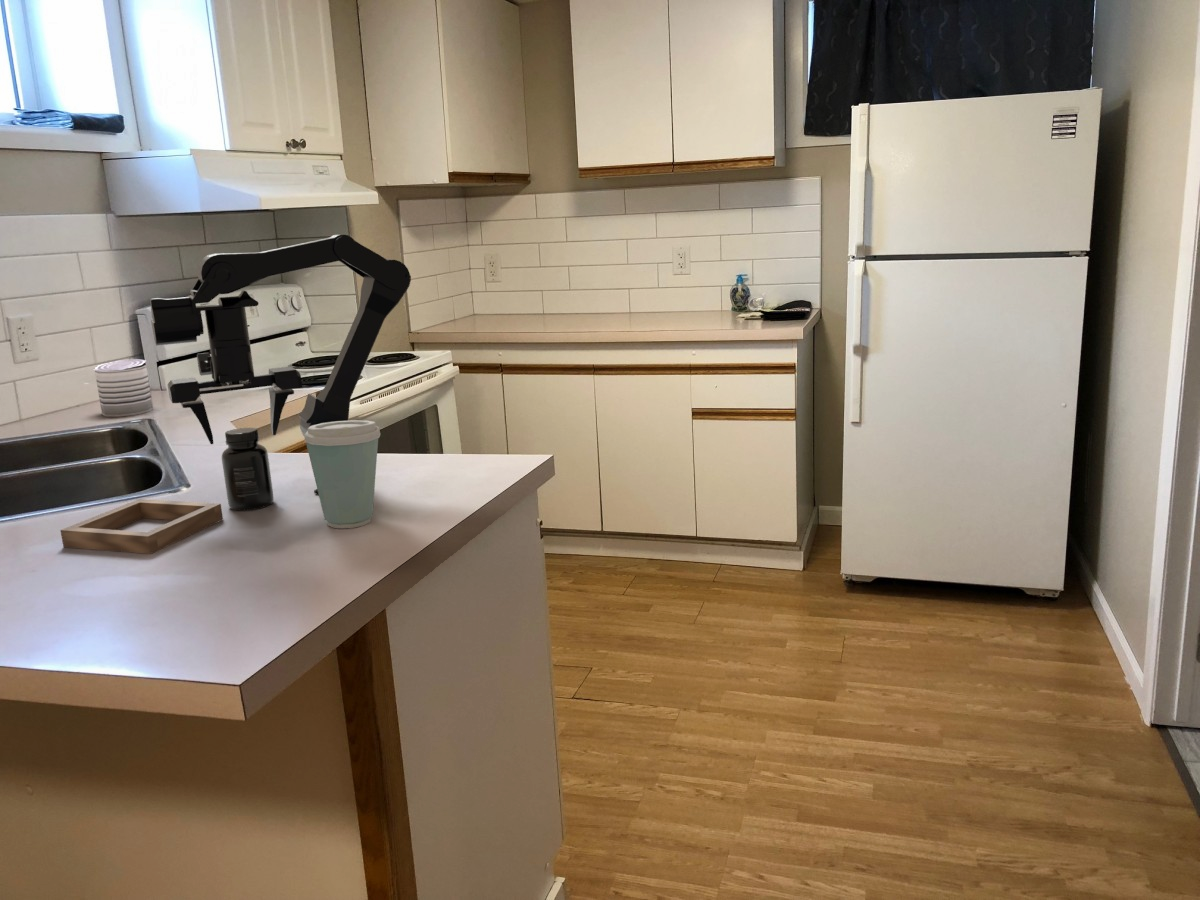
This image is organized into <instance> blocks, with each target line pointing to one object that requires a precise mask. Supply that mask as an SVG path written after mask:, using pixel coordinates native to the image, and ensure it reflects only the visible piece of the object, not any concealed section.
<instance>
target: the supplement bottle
mask: <svg viewBox="0 0 1200 900" xmlns="http://www.w3.org/2000/svg"><path fill="white" fill-rule="evenodd" d="M224 437H225V444H226V446H228V447H227V448H226V449H224V450H223V451H222V453H221V464H222V470H223V471H222V472H223V478H224V484H225V490H226V491H225V492H226V499H227V503H228V504H227V505H228V508H230V509H231V510H234V511H252V510H258V509H262V508H266V507H267V506H270V505H272V503H274V499H275V497H274V489H273V482H272V474H271V468H270V467H271V466H270V461H269V460H270V459H269V454H268V453H269V452H268V449H267V448H266V447H265V446H264V445H262V444H260V443H259V441H260V437H259V429H258V428H256V427H242V428H241V427H239V428H235V429H234V428H233V429H230V430H227V431H225V433H224Z"/></svg>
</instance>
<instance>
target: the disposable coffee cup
mask: <svg viewBox="0 0 1200 900" xmlns="http://www.w3.org/2000/svg"><path fill="white" fill-rule="evenodd" d="M380 437H381V431H380V427H379V426H377V424H376V422H375V421H373V420H366V419H365V420H357V419H356V420H355V419H351V420H349V419H348V421H335V422H327V423H320V424H316V425H312V426H310V427H309V428H308V431H307V432H306V434H305V437H304V440H303V442H305V443H306V444H305V445H306V448H307V453H308V456H309V460H310V461H309V462H310V465H311V468H312V473H313V477H314V481H315V485H316V489H317V490H318V497H319V501H320V506H321V510H322V514H323V519H324V520H325V521H326V524H327V526H329V527H331V528H335V529H352V528H353V529H354V528H357V527H362V526H363V527H364V526H365V525H367V524H370V523H371V520H372V517H373V513H374V497H375V487H376V475H377V474H376V473H377V462H378V460H377V459H378V458H377V457H378V447H379V446H378V445H379V438H380Z"/></svg>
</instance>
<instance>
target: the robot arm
mask: <svg viewBox="0 0 1200 900" xmlns="http://www.w3.org/2000/svg"><path fill="white" fill-rule="evenodd" d="M335 262H340V264H341V263H342V264H343V265H344V266H346V268H348V269H349V270H351V271H352V272H353V273H355V274H357V275H358V276H360V277H361V278H363V280H362V284H361V288H360V296H359V297H360V298H359V306H358V310H357V312H356V314H355V317H354V320H353V322H352V324H351V326H350V329H349V332H348V333H347V335H346V337H345V340H344V343H343V344H342V347H341V349H340V352H339V354H338V356H337V359H336V361H335V363H334V365H333V367H332V370H331V373H330V375H329V377H328V379H327V381H326V384H325V386H324V388H322V390H321V391H320V392H319V394H318V395H317V396H315V395H314V394H312V393H308V394H307V396H306V400H305V405H304V407H303V409H302V411H301V412H299V414H298V415H297V416H298V417H299V418H300V422H299V429H300V432H301V434H302V436H303V437H304V438H305V434H306V432H307V431H308V428H309V427H310V426H312V425H316V424H320V423H327V422H335V421H349V415H350V405H351V398H352V396H353V393H354V390H355V389H356V386H357V384H358V382H359V379H360V377H361V374H362V372H363V370H364V368H365V365H366V363H367V361H368V358H369V356H370V354H371V352H372V349H373V347H374V345H375V343H376V340H377V337H378V335H379V333H380V332H381V331H380V330H381V329H382V326H383V324H384V321H385V319H386V318H387V317H388V315H389V314H390V313H391V312H392V311H393V310H394V309H395V307H396V306H397V305H398V304H399V303H400V301H401V300H402V299H403V296H404V295H405V293H407V291H408V289H409V287H410V286H411V281H412V276H411V273H410V271H409V268H408V267H407V266H406V264H405V263H403V262H401V260H396V259H391V258H390V259H389V258H385V257H383V256H382V255H380V254H378V253H376V252H375V251H373V250H371V248H367V246H364V245H363V244H361V243H359V242H358V241H356V240H355V239H354V238H353V237H352V236H350V235H348V234H333V235H331V236H330V237H325V238H322V239H316V240H312V241H307V242H302V243H301V242H300V243H297V244H292V245H289V246H288V245H287V246H283V247H279V248H278V247H277V248H274V249H268V250H263V251H259V252H258V251H257V252H233V253H232V252H229V253H228V252H227V253H226V252H225V253H211V254H208V255H206V256H204V257H203V258H202V259H201V261H200V263H199V264H198V267H197V270H196V271H197V280H196V282H195V284H194V285H193V287H192V288H191V289H190V290H189V291H190V292H189V294H188V295H187V296H185V297H172V298H163V297H156V298H155V297H154V298H150V299H149V301H150V302H149V303H150V312H151V318H152V319H151V320H150V323H151V328H152V329H151V330H152V335H153V339H154V343H155V346H167V345H175V344H176V345H177V344H187V343H189V344H190V343H196V342H198V339H197V337H201V335H204V332H205V331H204V324H203V318H202V312H204V315H205V322H206V328H207V329H206V330H207V335H208V344H209V349H210V350H209V352H203V353H197V354H196V359H197V367H198V371H199V376H200V377H201V376H208V375H209V376H210V375H211V379H212V380H207V381H200V382H198V379H197V378H196V377H193V376H192V377H188V378H177V379H171V380H169V382H168V383H167V391H168V397H169V400H170V402H171V403H172V404H180V406H181V407H182V409H188V408H190V409H191V411H192V412H193V414H194V416H195V417H196V418H197V420H198V422H199V424H200V426H201V428H202V430H203V432H204V434H205V436H206V438H207V440H208V442H209V444H210V445H214V437H213V432H212V428H211V424H210V421H209V418H208V413H207V411H206V407H205V403H204V401H203V399H202V398H201V397H202V396H201V395H206V394H207V395H208V394H215V393H223V392H233V391H240V390H248V389H256V388H265V387H268V392H269V393H268V394H269V400H270V401H269V403H270V404H269V405H270V406H269V409H270V428H271V430H270V431H271V433H272V436H276V435H277V433H278V428H279V423H280V420H281V417H282V413H283V409H284V407H285V405H286V402H287V399H288V397H289V396H293V395H294V394H295V390H296V389H301V388H303V382H302V376H301V373H300V371H298V370H297V369H296V368H294V367H293V366H291V365H290V366H283V367H273V368H268V373H267V374H257V375H255V371H254V365H253V364H254V363H253V362H254V361H253V355H252V349H251V348H252V347H251V341H250V340H251V339H250V335H249V334H250V333H249V327H248V320H247V312H246V308H250V307H257V306H258V307H259V301H258V300H256V299H254V298H253V297H251V295H250V294H249V293H248V291H247V290H241V289H244V288H246V287H248V286H250V285H253V284H255V283H257V282H259V281H261V280H263V279H267V277H272V276H277V275H280V274H285V273H290V272H293V271H299V270H304V269H308V268H313V267H317V266H322V265H327V264H330V263H335ZM240 290H241V292H239V294H238V295H233V296H225V297H224V296H223V297H218V300H217V301H218V303H217V304H207V303H210V302H212V300H213V299H215V298H217V296H219V295H227V294H231V293H234V292H237V291H240ZM197 304H204V305H197ZM205 304H207V305H205ZM224 383H226V384H224ZM222 384H224V385H222ZM294 389H295V390H294ZM314 494H318V490H317V488H316V489H314ZM318 495H319V494H318Z"/></svg>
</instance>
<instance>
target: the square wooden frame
mask: <svg viewBox="0 0 1200 900" xmlns="http://www.w3.org/2000/svg"><path fill="white" fill-rule="evenodd" d="M141 519H151V520H154V519H155V520H167V521H168V520H169V522H167V523H165V524H162V525H160V526H158V527H156V528H154V529H151V530H149V531H136V530H122V529H121V530H120V529H119V528H122V527H124V526H127V525H130V524H131V523H134V522H136V521H138V520H141ZM222 519H223V520H224V516H223V510H222V504H221V503H214V502H213V503H211V502H197V501H195V502H194V501H180V500H177V501H176V500H162V499H161V500H160V499H146V498H145V499H142V498H139V499H135V500H133V501H131V502H127V503H126V504H123V505H121V506H118V507H116V508H115V507H114V508H112V509H110V510H108V511H105V512H103V513H100V514H98V515H95V516H93V517H90V518H87V519H85V520H82V521H80V522H78V523H75V524H72V525H69V526H67V527H64V528H63V529H60V530H59V531H60V535H61V541H62V546H63V548H70V549H84V550H85V549H86V550H97V551H99V550H100V551H111V552H123V553H136V554H149V555H150V554H153V553H155V552H158V551H159V550H162V549H164V548H166V547H168V546H170V545H173V544H175V543H177V542H179V541H180V540H181V541H182V540H184V539H185V538H187V537H190V536H191V535H193V534H195V533H198V532H200V531H202V530H204V529H206V528H209V527H210V525H211V526H213V525H215V524H216V522H217V523H219V522H222V521H223V520H222ZM218 521H219V522H218ZM214 523H215V524H214ZM212 524H213V525H212ZM208 526H209V527H208Z"/></svg>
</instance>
